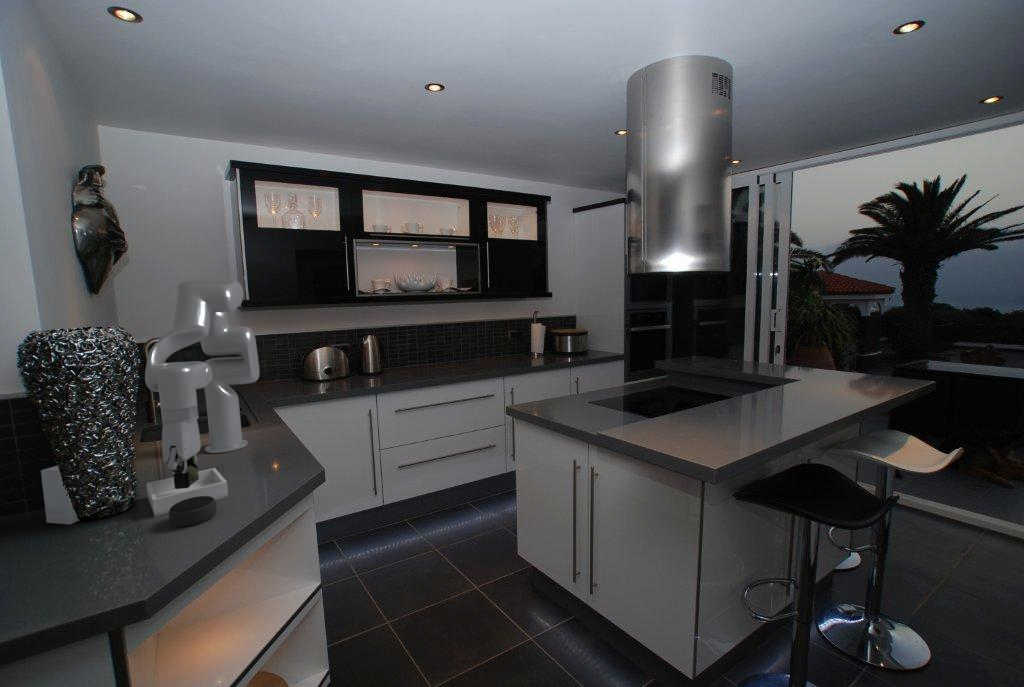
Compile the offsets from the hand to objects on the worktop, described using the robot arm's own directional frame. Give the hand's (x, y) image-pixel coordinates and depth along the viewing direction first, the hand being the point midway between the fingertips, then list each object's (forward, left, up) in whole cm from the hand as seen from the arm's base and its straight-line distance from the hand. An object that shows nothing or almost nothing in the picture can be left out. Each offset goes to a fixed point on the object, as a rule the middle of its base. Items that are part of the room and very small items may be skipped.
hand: (187, 483), depth 118 cm
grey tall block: (-7, -21, -4) cm, 23 cm away
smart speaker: (+16, -1, -4) cm, 17 cm away
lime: (0, 0, -1) cm, 1 cm away
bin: (0, 0, -4) cm, 4 cm away
